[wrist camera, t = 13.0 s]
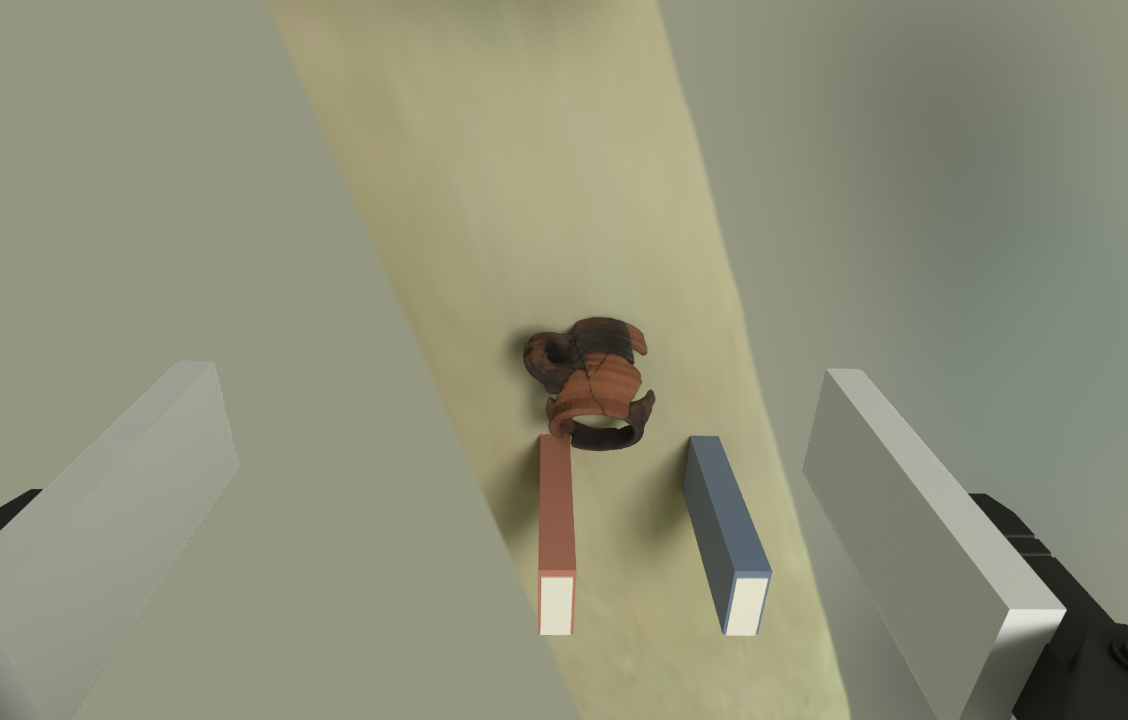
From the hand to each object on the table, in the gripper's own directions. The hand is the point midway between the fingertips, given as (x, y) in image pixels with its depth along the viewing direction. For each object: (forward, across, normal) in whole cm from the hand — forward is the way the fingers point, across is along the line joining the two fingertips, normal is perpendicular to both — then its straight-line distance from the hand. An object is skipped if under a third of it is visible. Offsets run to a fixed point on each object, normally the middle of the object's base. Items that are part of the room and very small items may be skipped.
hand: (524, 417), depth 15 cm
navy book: (+37, +15, -28) cm, 48 cm away
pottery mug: (+38, +4, -16) cm, 41 cm away
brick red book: (+37, +2, -28) cm, 46 cm away
